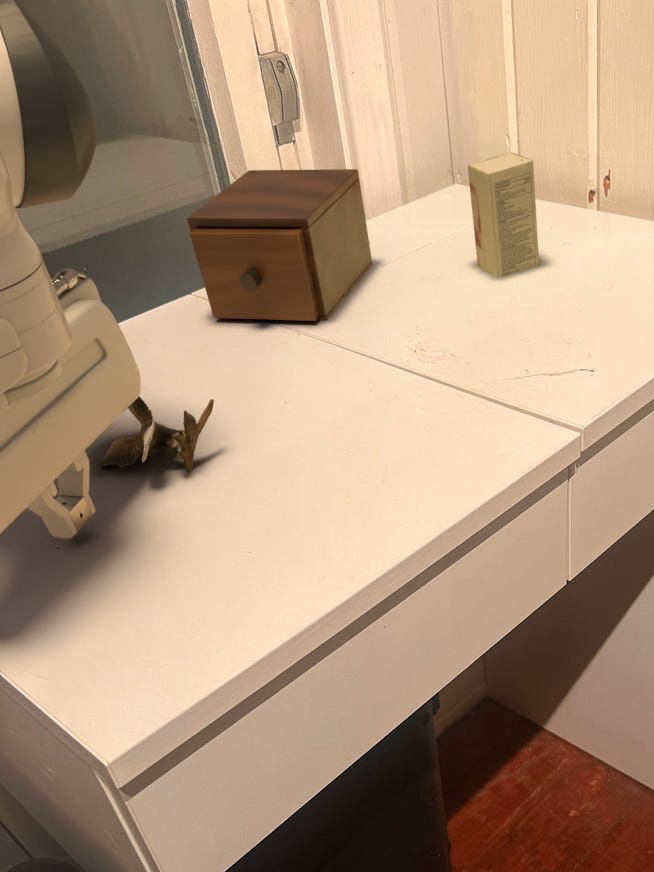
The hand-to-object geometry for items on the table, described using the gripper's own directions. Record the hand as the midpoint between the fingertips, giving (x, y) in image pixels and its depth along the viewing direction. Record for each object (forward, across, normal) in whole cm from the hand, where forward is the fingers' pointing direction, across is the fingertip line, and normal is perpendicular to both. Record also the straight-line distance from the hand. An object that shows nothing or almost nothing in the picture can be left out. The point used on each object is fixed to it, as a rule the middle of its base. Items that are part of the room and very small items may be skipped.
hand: (74, 525), depth 61 cm
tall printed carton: (+2, -48, +19) cm, 52 cm away
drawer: (+1, -39, -1) cm, 39 cm away
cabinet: (+2, -42, -1) cm, 42 cm away
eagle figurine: (+2, -10, 0) cm, 11 cm away
